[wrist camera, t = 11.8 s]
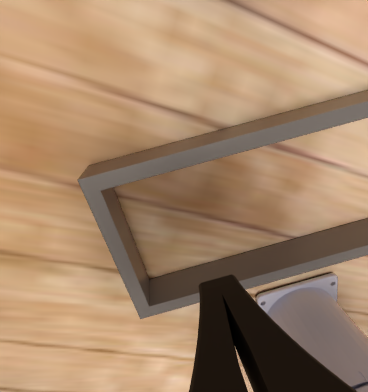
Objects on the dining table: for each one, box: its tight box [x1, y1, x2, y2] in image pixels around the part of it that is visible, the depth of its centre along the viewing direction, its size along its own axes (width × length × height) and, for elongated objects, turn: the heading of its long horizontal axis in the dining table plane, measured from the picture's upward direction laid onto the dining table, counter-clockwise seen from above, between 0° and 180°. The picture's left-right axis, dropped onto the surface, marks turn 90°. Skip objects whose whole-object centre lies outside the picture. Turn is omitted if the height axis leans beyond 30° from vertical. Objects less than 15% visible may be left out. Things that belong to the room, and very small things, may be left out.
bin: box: [78, 90, 368, 319], centre depth 19 cm, size 12×24×3 cm, turn 104°
